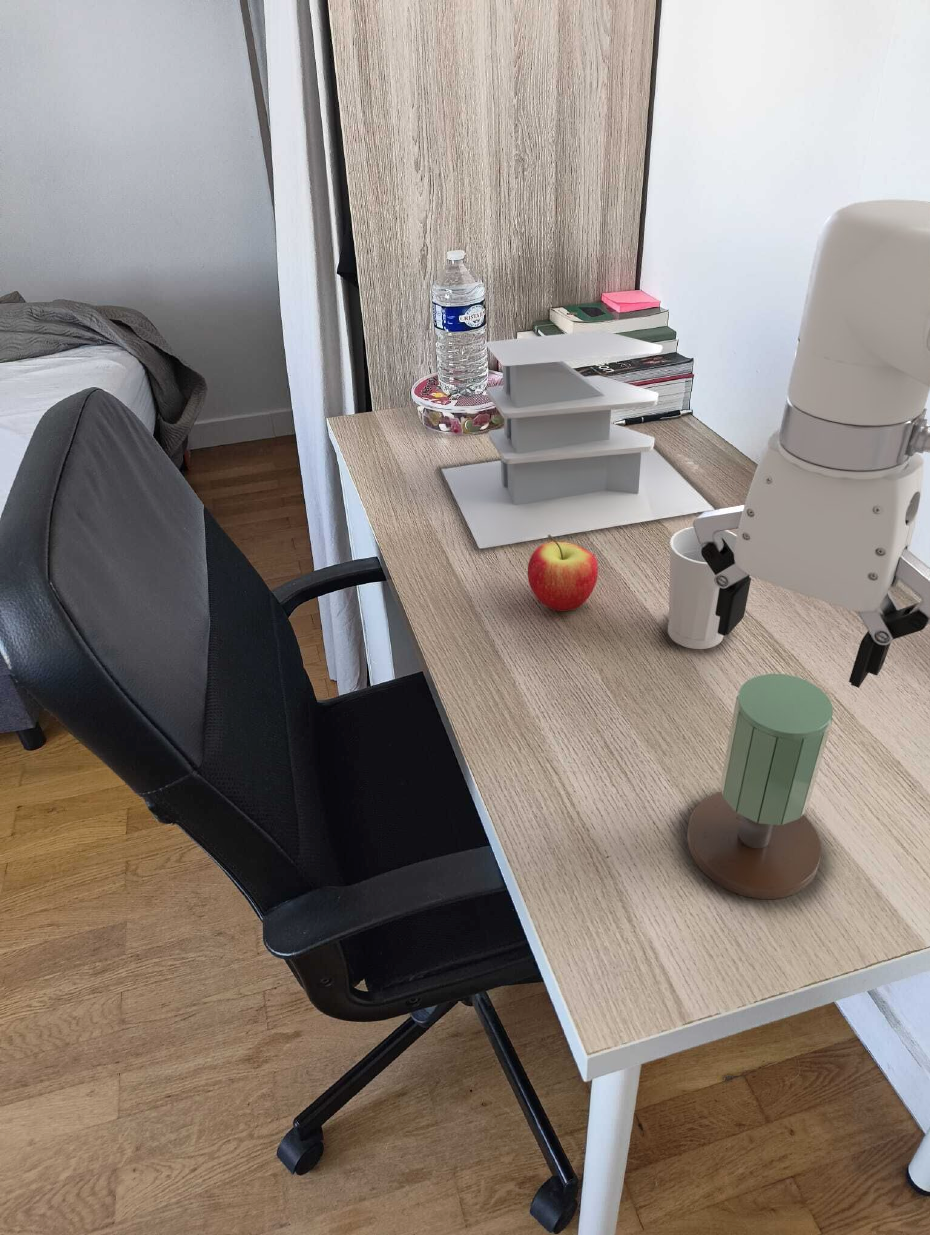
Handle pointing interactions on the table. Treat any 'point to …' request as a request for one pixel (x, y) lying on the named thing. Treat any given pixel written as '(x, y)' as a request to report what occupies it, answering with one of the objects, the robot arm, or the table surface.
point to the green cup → (775, 747)
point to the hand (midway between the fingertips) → (792, 649)
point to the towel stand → (752, 851)
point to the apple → (562, 575)
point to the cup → (693, 592)
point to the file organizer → (566, 448)
